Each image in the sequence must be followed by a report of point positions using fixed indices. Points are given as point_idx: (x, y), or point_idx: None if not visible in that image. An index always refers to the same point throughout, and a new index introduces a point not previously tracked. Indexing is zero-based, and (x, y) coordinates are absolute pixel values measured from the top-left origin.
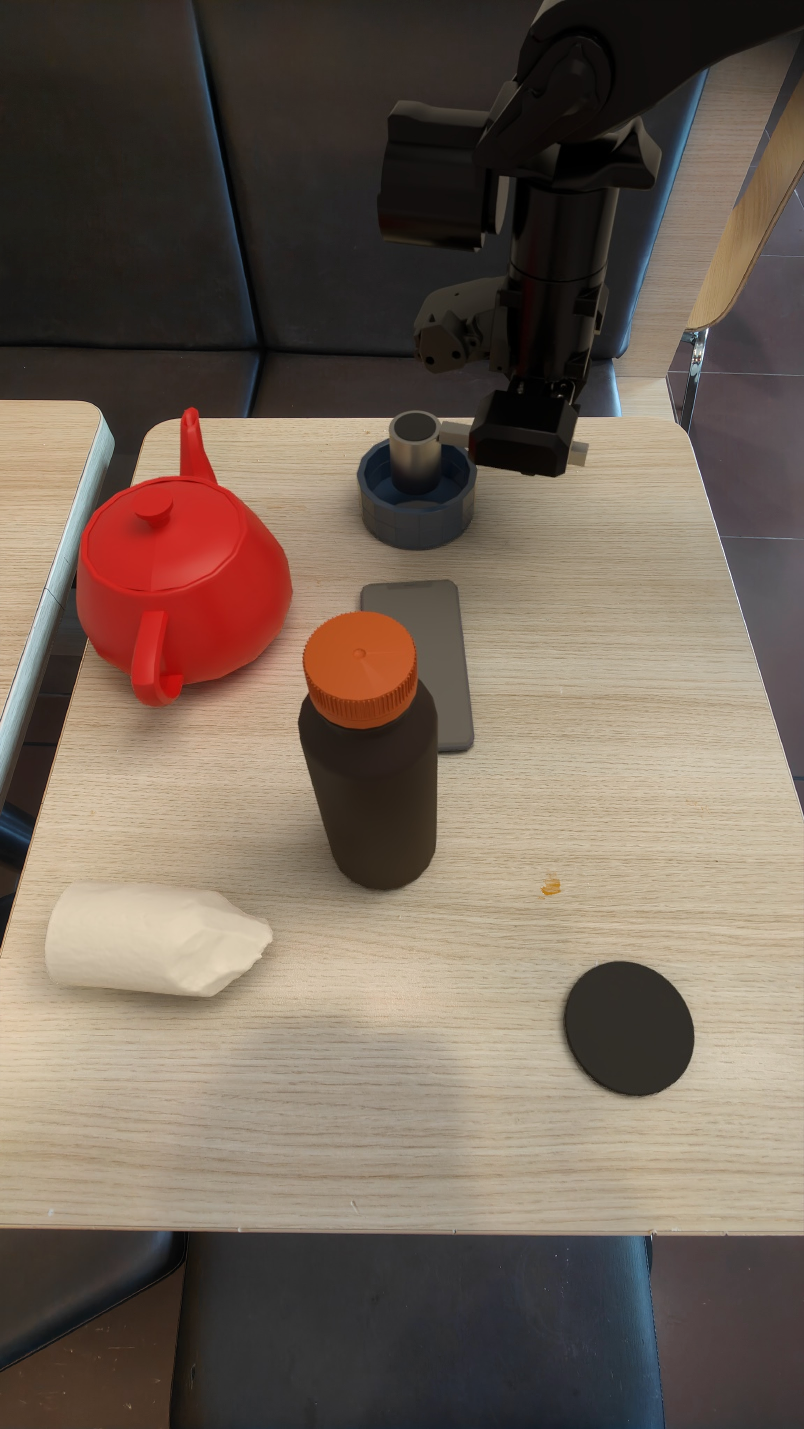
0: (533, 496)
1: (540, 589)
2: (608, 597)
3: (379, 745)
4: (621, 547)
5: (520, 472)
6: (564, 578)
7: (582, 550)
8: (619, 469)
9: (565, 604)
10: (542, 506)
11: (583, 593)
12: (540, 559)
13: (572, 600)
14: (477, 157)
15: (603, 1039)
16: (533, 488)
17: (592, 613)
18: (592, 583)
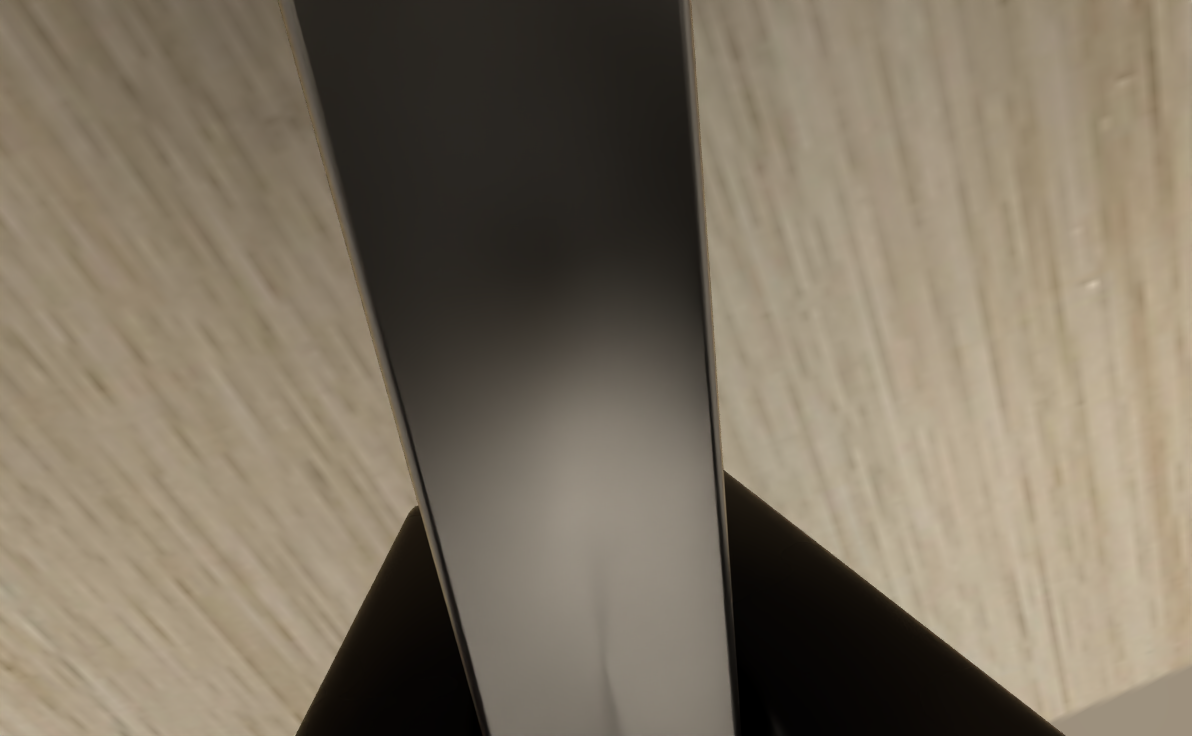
0: (812, 123)
1: (24, 453)
2: (196, 713)
3: None
4: None
5: (407, 518)
6: (194, 523)
7: None
8: (1131, 463)
9: (10, 591)
10: (733, 210)
11: (148, 627)
12: (263, 367)
13: (63, 606)
14: None
15: None
16: (891, 94)
17: (44, 700)
18: (244, 635)
